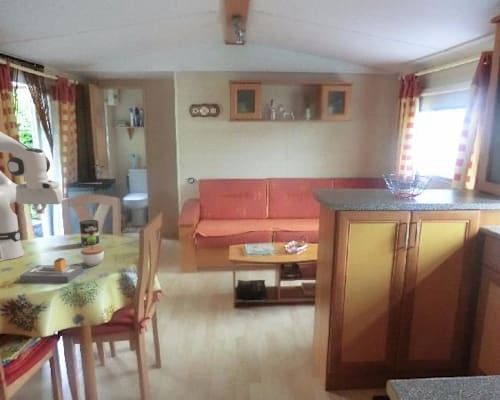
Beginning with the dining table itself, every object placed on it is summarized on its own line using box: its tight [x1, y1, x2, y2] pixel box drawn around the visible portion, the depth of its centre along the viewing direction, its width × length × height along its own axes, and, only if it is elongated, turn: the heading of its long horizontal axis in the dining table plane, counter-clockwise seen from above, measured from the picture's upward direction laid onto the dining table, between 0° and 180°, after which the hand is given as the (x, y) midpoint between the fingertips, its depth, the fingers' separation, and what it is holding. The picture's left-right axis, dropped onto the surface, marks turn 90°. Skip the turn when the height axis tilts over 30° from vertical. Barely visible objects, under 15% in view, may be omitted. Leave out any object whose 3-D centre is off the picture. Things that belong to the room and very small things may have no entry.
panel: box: [19, 264, 84, 284], centre depth 171 cm, size 22×13×4 cm, turn 87°
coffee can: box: [79, 219, 101, 248], centre depth 219 cm, size 10×10×14 cm
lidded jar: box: [80, 245, 105, 267], centre depth 187 cm, size 11×11×9 cm
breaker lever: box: [53, 257, 67, 272], centre depth 170 cm, size 3×4×5 cm
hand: (40, 213), depth 171 cm, fingers closed
